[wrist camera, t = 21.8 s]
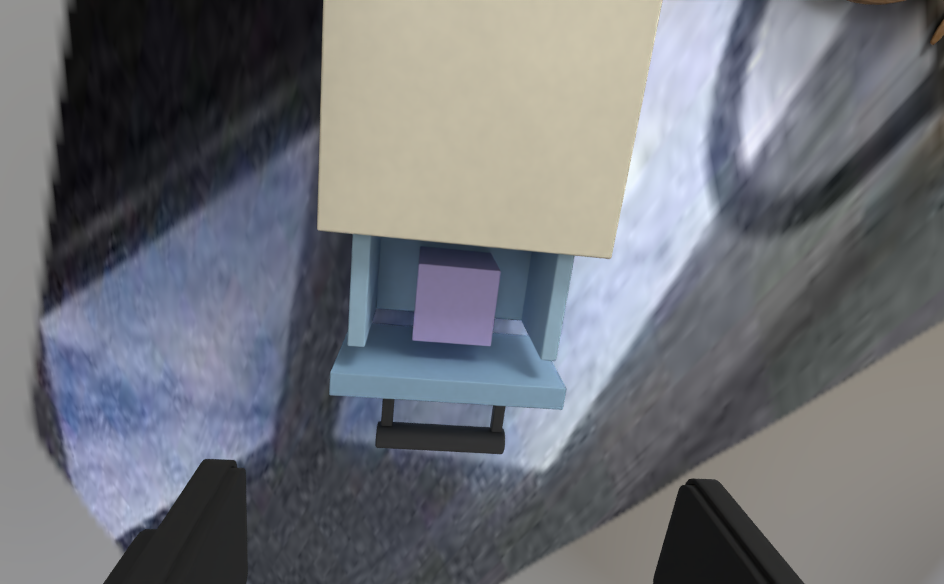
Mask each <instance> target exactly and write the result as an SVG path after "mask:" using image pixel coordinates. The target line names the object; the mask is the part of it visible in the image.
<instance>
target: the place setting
mask: <svg viewBox="0 0 944 584" xmlns="http://www.w3.org/2000/svg"><path fill="white" fill-rule="evenodd" d="M847 1H850V2H854V3H860V4H869V5H882V4H889V3H896V2H901V1H905V0H847ZM943 35H944V19H943V21H942V22H941V24H940V25H939V27H938V28H937V30H936V32H935V33H934V35H933V37H932V39H931V41H930V43H931V44H932V45H934V44H935V43H936V42H937V41H938V40H939V39H940V38H941V37H942V36H943Z"/></svg>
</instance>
